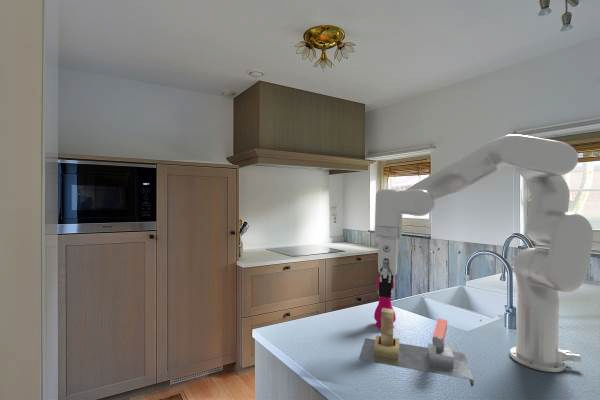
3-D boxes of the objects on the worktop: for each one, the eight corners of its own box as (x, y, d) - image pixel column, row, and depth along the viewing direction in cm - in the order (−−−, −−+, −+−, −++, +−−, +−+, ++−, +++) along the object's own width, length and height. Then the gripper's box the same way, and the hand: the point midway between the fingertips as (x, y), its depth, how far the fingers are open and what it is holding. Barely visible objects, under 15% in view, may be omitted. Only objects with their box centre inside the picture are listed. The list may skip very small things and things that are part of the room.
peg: (392, 350, 92) (393, 309, 92) (392, 355, 89) (392, 313, 89) (381, 348, 93) (382, 307, 93) (380, 353, 90) (381, 311, 90)
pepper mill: (396, 334, 106) (397, 274, 105) (374, 332, 107) (375, 273, 107) (394, 326, 113) (395, 270, 112) (373, 324, 114) (374, 268, 114)
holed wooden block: (399, 348, 93) (399, 338, 93) (398, 359, 87) (398, 348, 87) (376, 345, 95) (376, 335, 95) (373, 355, 89) (374, 344, 89)
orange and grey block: (437, 338, 93) (437, 317, 93) (447, 340, 92) (447, 319, 92) (431, 362, 80) (431, 337, 80) (442, 365, 79) (443, 339, 79)
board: (464, 357, 91) (464, 342, 91) (473, 384, 78) (473, 367, 78) (365, 341, 100) (365, 328, 100) (358, 363, 87) (358, 348, 87)
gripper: (400, 236, 81) (398, 303, 82) (402, 230, 98) (400, 285, 98) (371, 234, 84) (369, 299, 84) (377, 229, 100) (375, 283, 100)
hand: (386, 291), depth 91 cm, fingers open, 9 cm apart
